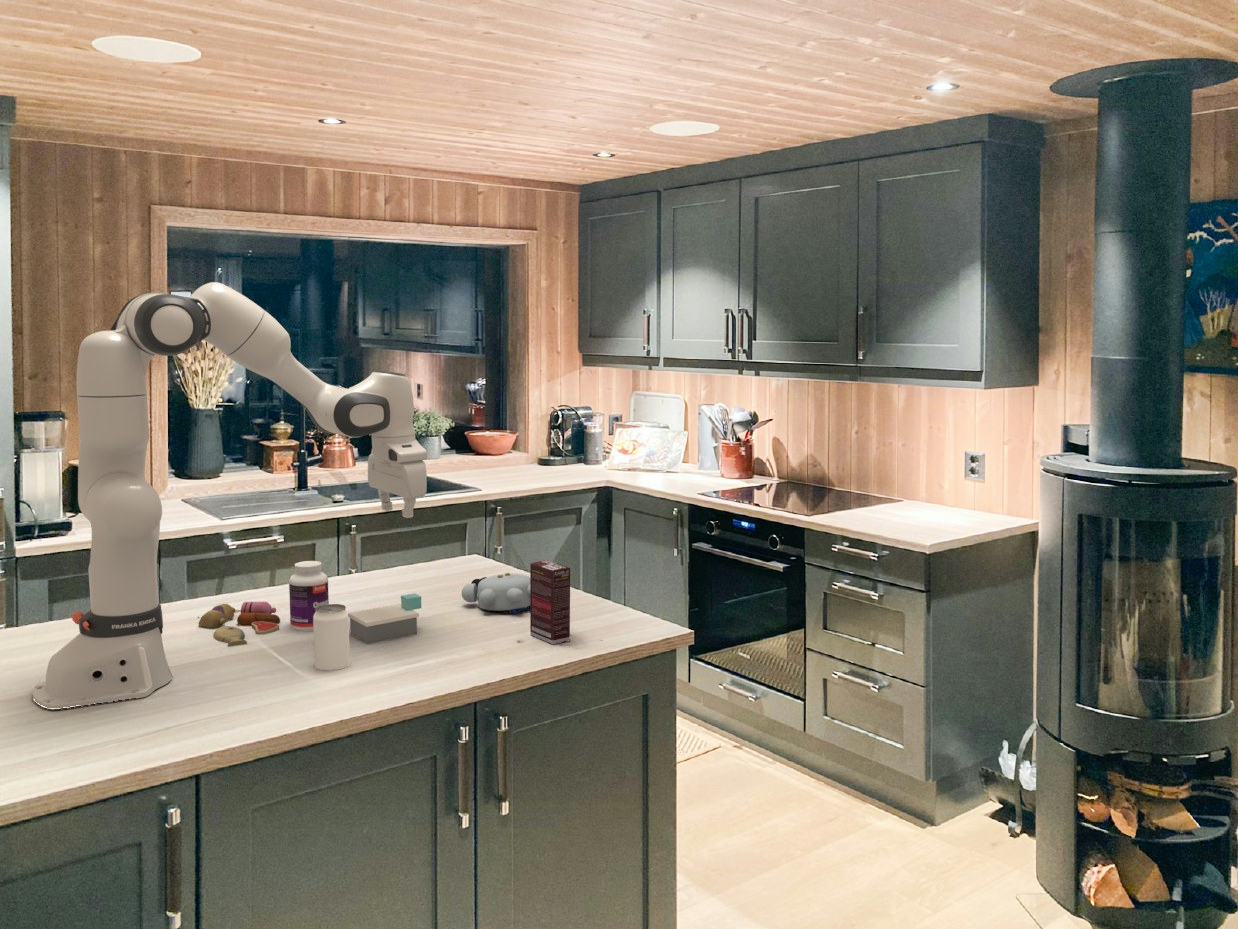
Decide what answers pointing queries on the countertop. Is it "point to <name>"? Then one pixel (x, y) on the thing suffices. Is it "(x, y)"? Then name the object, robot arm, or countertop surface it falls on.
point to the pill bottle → (307, 594)
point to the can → (331, 637)
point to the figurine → (500, 592)
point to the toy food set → (240, 621)
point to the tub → (383, 630)
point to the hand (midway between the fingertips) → (397, 513)
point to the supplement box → (550, 601)
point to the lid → (389, 612)
